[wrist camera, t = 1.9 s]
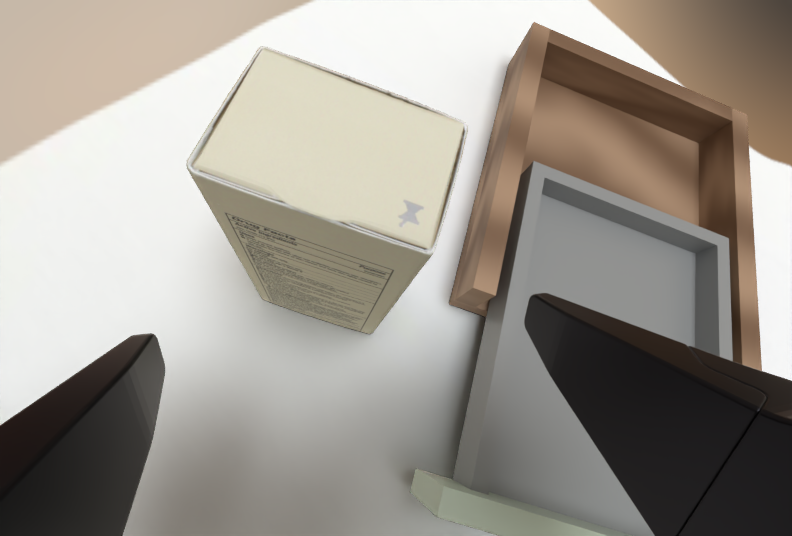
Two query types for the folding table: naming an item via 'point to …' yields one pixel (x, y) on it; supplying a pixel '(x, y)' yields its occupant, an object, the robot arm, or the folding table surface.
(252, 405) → the folding table surface
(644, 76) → the caddy
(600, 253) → the tray
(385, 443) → the folding table surface
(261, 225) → the skincare box
